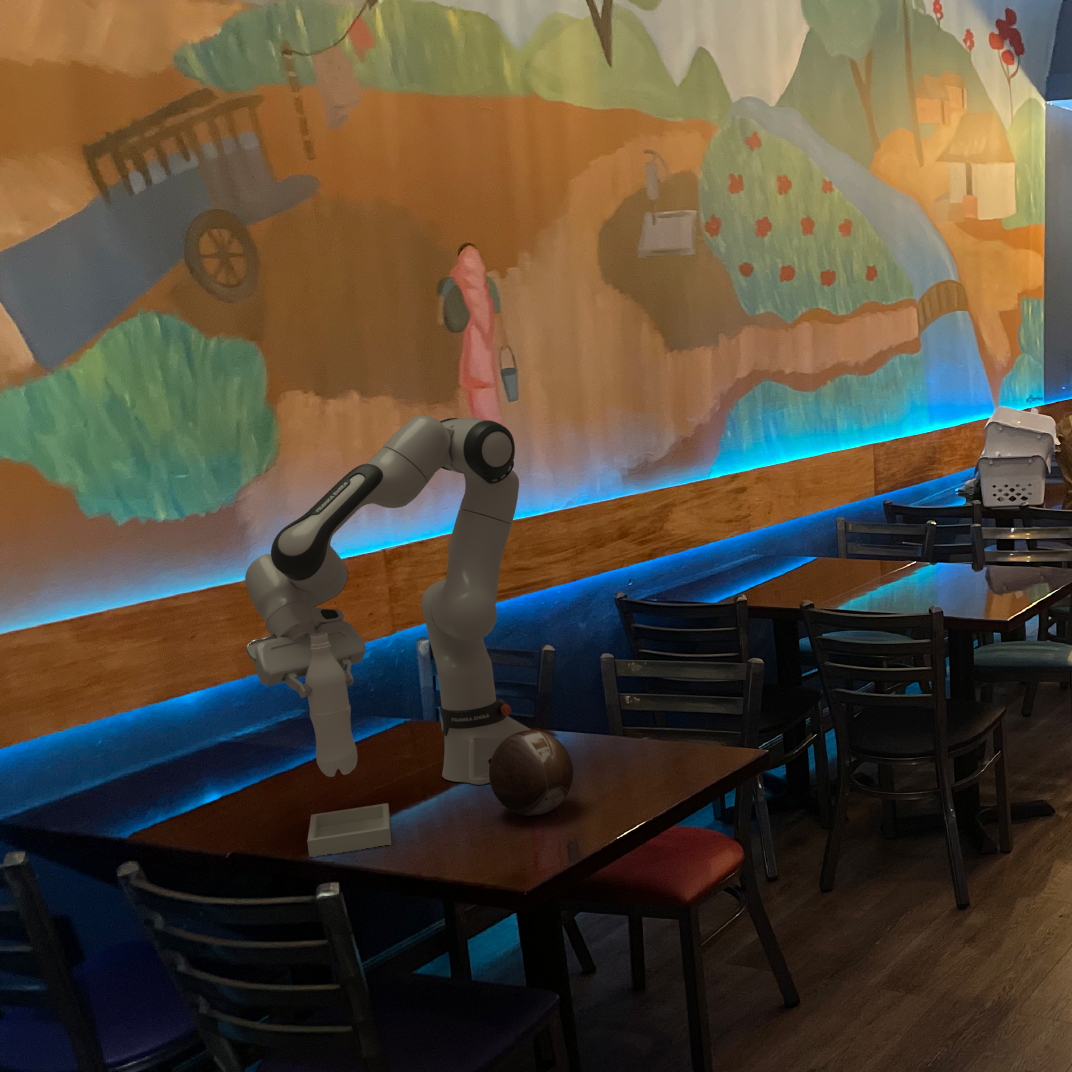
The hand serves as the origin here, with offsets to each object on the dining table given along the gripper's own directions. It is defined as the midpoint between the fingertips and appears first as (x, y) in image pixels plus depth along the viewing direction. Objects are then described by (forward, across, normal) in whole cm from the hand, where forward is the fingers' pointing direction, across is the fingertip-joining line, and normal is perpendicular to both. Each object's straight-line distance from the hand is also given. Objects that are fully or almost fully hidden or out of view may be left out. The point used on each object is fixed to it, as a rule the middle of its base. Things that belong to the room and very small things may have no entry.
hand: (328, 689), depth 212 cm
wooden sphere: (+33, +28, +6) cm, 43 cm away
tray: (+20, 0, +19) cm, 27 cm away
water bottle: (+11, 0, +11) cm, 15 cm away
